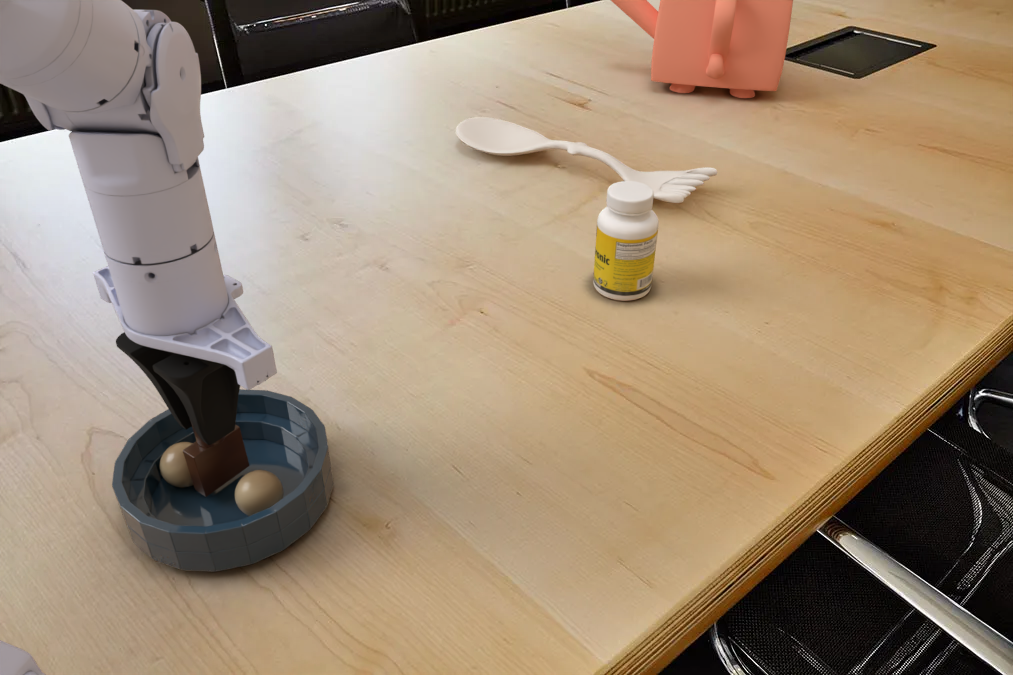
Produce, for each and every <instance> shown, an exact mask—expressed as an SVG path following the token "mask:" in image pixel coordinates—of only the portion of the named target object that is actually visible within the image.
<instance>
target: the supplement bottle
mask: <svg viewBox="0 0 1013 675" xmlns="http://www.w3.org/2000/svg"><path fill="white" fill-rule="evenodd" d="M653 196H654V192H653V190H652V188H651V187H649V186H648V185H646V184H643V183H640V182H635V181H624V180H622V181H617V182H614V183H612V184H610V185H609V186H608V187H607V190H606V201H605V202H606V206H605V207H603V209H602V210H600V212H599V214H598V216H597V219H596V233H595V234H596V235H595V247H594V248H595V249H594V262H593V273H592V274H593V278H592V280H593V281H592V283H593V287H594V289H595V290H596V291H597V292H598V293H599V294H600V295H602V296H603V297H605V298H608V299H611V300H615V301H625V302H627V301H635V300H638V299H640V298H644V297H645V296H646V295H648V293H649V292H650V290H651V288H652V283H653V276H654V267H655V259H656V250H657V242H658V234H659V217H658V215H657V214H656V213H655V211H654V210H653V205H654V198H653Z"/></svg>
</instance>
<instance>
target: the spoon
mask: <svg viewBox="0 0 1013 675" xmlns="http://www.w3.org/2000/svg"><path fill="white" fill-rule="evenodd" d="M454 132H455V135H456V136H457V137H458V139H459V140H460V141H461V142H462V143H464V144H465V145H466V146H468V147H470V148H471V149H474V150H476V151H478V152H481V153H484V154H488V155H493V156H504V157H505V156H506V157H507V156H522V155H527V154H532V153H533V154H534V153H537V152H538V153H539V152H543V151H550V150H551V151H552V150H561V151H566V152H567V154H569V155H571V156H580V157H587V158H590V159H594V160H596V161H599V162H601V163H604V164H605V165H606V166H608V167H609V168H611V169H612V170H613V171H614V172H615V173H616V174H617V175H618V176H619V177H620V178H621V180H622V181H635V182H640V183H643V184H646V185H648V186H649V187H651V188H652V190H653V192H654V196H653V200H658V201H661V202H666V203H670V204H682V203H683V202H684V201H685V199H686V198H687V197H689V196H691V192H695V191H696V190H697V188H696V187H700V186H703V185H705V182H706V181H709V180H710V177H716V176H717V175H718V170H717V169H716V168H714V167H710V166H706V167H705V166H704V167H696V168H691V169H685V170H654V171H644V170H643V171H641V170H637V169H634V168H632V167H630V166H628V165H626V164H625V163H623V162H622V161H621V160H619V159H618V158H617V157H615V156H613V155H612V154H610V153H608V152H606V151H604V150H601V149H597V148H595V147H592V146H589V145H588V144H587V143H586V142H582V141H577V142H576V141H575V142H574V141H569V140H561V139H550V138H549V137H547V136H545V135H543V134H542V133H540V132H538V131H536V130H533V129H531V128H528V127H525V126H524V125H520V124H518V123H515V122H512V121H508V120H504V119H502V118H501V119H500V118H495V117H490V116H472V117H468V118H465V119H463V120H461V121H460V122H458V124H457V126H456V127H455V131H454Z"/></svg>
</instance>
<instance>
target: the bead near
mask: <svg viewBox="0 0 1013 675" xmlns="http://www.w3.org/2000/svg"><path fill="white" fill-rule="evenodd" d="M281 499H283V486H282V483H281V481H280V480H279V478H278V477H277V476H276V475H274V474H273V473H271V472H269V471H265V470H255V471H252V472H249V473H247V474H246V475H244V476H243V477H242V478H241V479H240V481H239V482H238V484H237V486H236V489H235V501H236V504H237V506H238V508H239V509H240V510H241V511H242V512H243V513H244V514H246V515H248V516H251V515H253V514H255V513H258V512H260V511H262V510H265V509H267V508H270V507H271V506H273V505H274V504H276V503H277V502H278V501H280V500H281Z"/></svg>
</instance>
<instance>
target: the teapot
mask: <svg viewBox="0 0 1013 675" xmlns="http://www.w3.org/2000/svg"><path fill="white" fill-rule="evenodd" d="M610 1H611V2H612V3H613V4H614V5H615V6H616V7H617V8H618V9H620V10H621V11H622V12H623V13H624V14H625V15H626V16H627V17H628V18H630V20H632V21H633V23H635V24H636V25H637V26H639V28H641V29H642V30H643V32H645V33H647V35H648V36H650V37H651V38H652V39H653V44H652V54H651V62H650V63H651V64H650V66H651V68H650V70H651V71H650V78H651V82H656V83H664V84H670V86H669V90H670V91H672V92H674V93H678V94H689V93H693V92H694V91H695V89H696V87H707V88H708V87H709V88H720V89H729V94H730V95H731V96H733V97H735V98H740V99H751V98H754V97H755V96H756V92H755V91H764V92H777V90H778V87H779V84H780V80H781V78H782V74H783V70H784V64H785V61H786V60H785V59H786V53H787V48H788V42H789V41H788V40H789V34H790V28H791V20H792V12H793V6H794V0H659V5H658V9H657V8H656V7H654V5H652V4H651V2H649V1H648V0H610Z"/></svg>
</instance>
